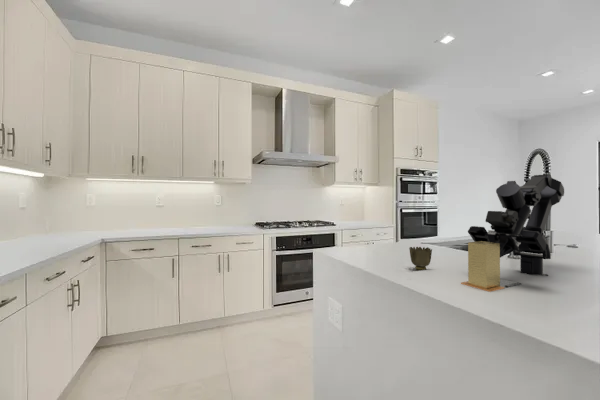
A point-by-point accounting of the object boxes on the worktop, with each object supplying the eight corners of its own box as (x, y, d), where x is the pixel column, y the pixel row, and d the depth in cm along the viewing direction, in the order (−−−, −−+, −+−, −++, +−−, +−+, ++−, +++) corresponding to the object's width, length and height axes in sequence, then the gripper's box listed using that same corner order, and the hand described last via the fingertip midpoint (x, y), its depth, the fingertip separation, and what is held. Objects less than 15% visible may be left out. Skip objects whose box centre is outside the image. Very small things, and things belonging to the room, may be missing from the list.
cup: (434, 273, 95) (434, 250, 95) (411, 272, 97) (411, 249, 97) (429, 268, 103) (428, 246, 103) (407, 267, 104) (407, 246, 104)
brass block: (481, 282, 82) (481, 241, 82) (500, 286, 77) (499, 243, 77) (468, 284, 79) (468, 242, 79) (486, 289, 75) (486, 244, 75)
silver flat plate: (492, 280, 87) (492, 276, 87) (522, 287, 79) (522, 283, 79) (460, 287, 80) (460, 282, 80) (489, 295, 73) (489, 290, 73)
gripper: (470, 201, 91) (448, 237, 86) (540, 201, 74) (516, 246, 69) (486, 224, 94) (465, 260, 89) (555, 229, 77) (534, 274, 72)
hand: (491, 259), depth 80 cm, fingers closed
